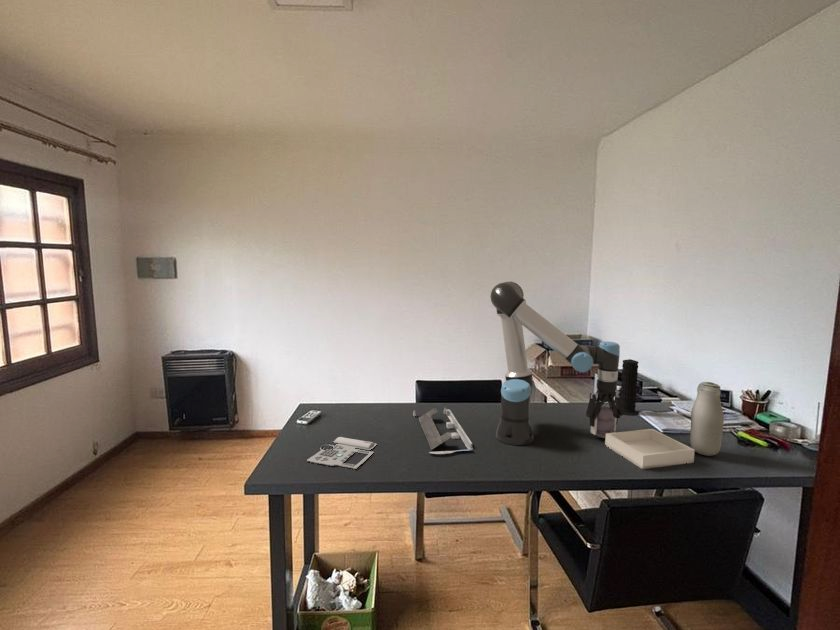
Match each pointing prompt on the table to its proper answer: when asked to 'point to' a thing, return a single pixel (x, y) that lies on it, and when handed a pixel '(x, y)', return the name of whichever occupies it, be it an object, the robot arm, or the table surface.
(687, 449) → the tray
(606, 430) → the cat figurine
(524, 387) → the robot arm
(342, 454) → the office telephone
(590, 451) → the table surface
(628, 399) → the handle grip
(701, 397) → the beige milk bottle
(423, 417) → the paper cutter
